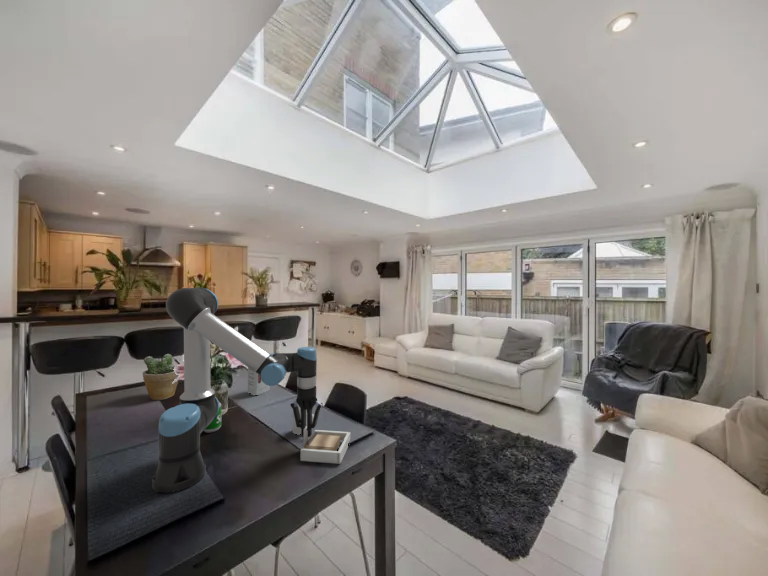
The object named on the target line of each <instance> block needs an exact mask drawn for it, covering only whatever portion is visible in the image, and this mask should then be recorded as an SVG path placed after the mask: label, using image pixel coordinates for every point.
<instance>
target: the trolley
mask: <svg viewBox="0 0 768 576" xmlns="http://www.w3.org/2000/svg"><path fill="white" fill-rule="evenodd" d="M339 444H340V445H341V442H340V436H332V435H317V432H315V431H313V433H312V435H311V436H310V437H309V439H308V441H307V442H306V443H305V445H304V446H303V447H304V448H303V449H316V450H330V451H337V449H338V446H339ZM338 450H339V449H338Z"/></svg>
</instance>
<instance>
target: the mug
mask: <svg viewBox="0 0 768 576" xmlns="http://www.w3.org/2000/svg"><path fill="white" fill-rule="evenodd" d="M298 408H299V413H300V417H301V408H300V407H299V405H298ZM314 414H315V413H313V412H312V422H313V418H314ZM306 424H307V410H306ZM291 425H292V426H291V427H292V434H293V433H294V434H293V435H295V434H297V435H296V436H301V435H300V434H301V428H300V427H297V426H296V421H295V417H294V412H293V411H292V423H291ZM306 427H307V425H306Z"/></svg>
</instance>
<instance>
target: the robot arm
mask: <svg viewBox="0 0 768 576" xmlns="http://www.w3.org/2000/svg"><path fill="white" fill-rule="evenodd" d="M218 307H219V299H218V297H217V295H216V294H215V293H214V292H213V291H212V290H210V289H208V288H204V287H183V288H179V289H175V290H174V291H173V292H172V293H171V294H170V295H169V296H168V297H167V298H166V302H165V309H166V312H167V315H169V316H170V318H172V319H173V320H174V321H175V322H176V323H177V324H178V325H179V326H180V327H182V328H183V371H184V372H183V383H184V384H183V386H184V388H183V389H184V391H183V392H182V393H181V394H180V396H179V404H178V405H175V406H174V407H170V408H168V409H167V410H165V411H164V412H163V413H162V414H161V416H160V417H159V420H158V425H157V427H158V462H157V465H156V467H155V471H154V474H153V477H152V480H151V488H152V490H153V491H154V490H155V491H154V492H156V491H157V492H156V493H159V492H171V493H174V492H173V491H176V492H179V491H178V490H180V491H183V490H186V489H188V488H190V487H192V486H194V485H195V483H196V484H197V483H198V482H199V483H200V481H201V480H202V479H203V478H204V477H205V475H206V470H207V469H206V468H207V467H206V462H205V461H204V460H203V456H202V453H201V447H200V446H201V434H202V433H203V432H204V429H205V428H206V427H207V426H208V425H209V424H210V423H211V422H212V421H213V420H214V419H215V417H216V415H217V413H218V411H219V403H220V401H219V400H218V398H217V397H216V392H215V391H216V390H214V389H213V388H212V387H211V343H212V344H213V345H215V346H216V347H218V348H220V349H221V350H223V351H224V352H226V353H227V354H228V355H230V356H231V357H232V358H234V359H235V360H237V361H239V362H240V363H242V365H244V366H246V367H247V368H248V367H249V368H250V369H252V370H253V371H254V372H256V373H257V374H259V375H260V376H261V379H262V381H263V383H264V384H266V385H268V386H270V387H274V386H277V385H279V384H280V383H282V381H283V380H284V379H285V376H286V375H287V373H296V376H297V377H296V382H297V383H296V385H297V388H296V397H297V398H296V399H295V400H294V401H292V402H291V403H290V407H291V409H292V413H293V412H294V417H295V421H296V426H297V427H300V428H301V435H300V436H301V437H302V438H303V441H302V442H303V447H304V445H305V443H306V442H307V441H308V439H309V438H310V437H311V435H312V434H313V433H312V430H313V429H315V427H316V426H317V423H318V419H319V416H320V412H321V408H322V407H323V405H324V404H323V402H319V401H318V398H317V360H318V359H317V349H316V348H315V347H313V346H301V347H299V348H297V350H296V352H281V353H280V352H279V353H278V352H274V353H269V352H267V351H266V350H265V349H263V348H262V347H260V346H259V345H257V344H256V343H254V341H252V340H251V339H249V338H247V337H246V336H244V335H243V334H242V333H241V332H239V331H238V330H236V329H235V328H233V327H232V326H231V325H229V324H227V323H226V322H225V321H223V320H222V319H220V318H219V317H218V316H216V315H215V313H216V312H217V310H218ZM298 405H299V407H300V408H301V417H300V413H299V408H298ZM314 407H315V411H314V413H313V409H314ZM306 410H307V424H306ZM312 413H313V414H314V418H313V422H312ZM306 425H307V427H306ZM193 484H194V485H193ZM191 485H192V486H191ZM189 486H190V487H189ZM187 487H188V488H187ZM185 488H186V489H185ZM182 489H183V490H182Z"/></svg>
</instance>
